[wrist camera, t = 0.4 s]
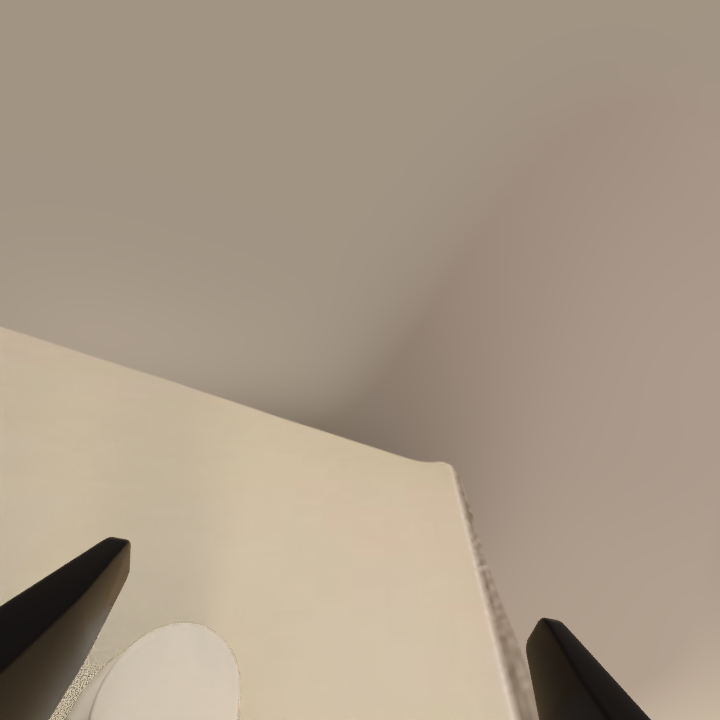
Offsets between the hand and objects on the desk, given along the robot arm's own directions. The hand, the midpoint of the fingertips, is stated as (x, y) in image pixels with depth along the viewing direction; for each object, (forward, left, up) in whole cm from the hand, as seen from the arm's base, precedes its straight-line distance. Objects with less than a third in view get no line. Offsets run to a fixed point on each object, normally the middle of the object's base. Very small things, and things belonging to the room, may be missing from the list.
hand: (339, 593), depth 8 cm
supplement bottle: (0, +2, -17) cm, 17 cm away
